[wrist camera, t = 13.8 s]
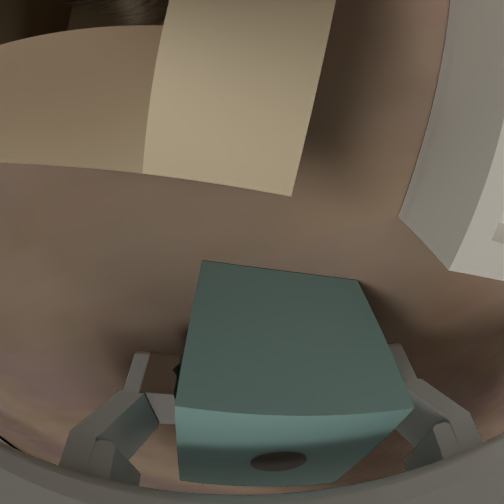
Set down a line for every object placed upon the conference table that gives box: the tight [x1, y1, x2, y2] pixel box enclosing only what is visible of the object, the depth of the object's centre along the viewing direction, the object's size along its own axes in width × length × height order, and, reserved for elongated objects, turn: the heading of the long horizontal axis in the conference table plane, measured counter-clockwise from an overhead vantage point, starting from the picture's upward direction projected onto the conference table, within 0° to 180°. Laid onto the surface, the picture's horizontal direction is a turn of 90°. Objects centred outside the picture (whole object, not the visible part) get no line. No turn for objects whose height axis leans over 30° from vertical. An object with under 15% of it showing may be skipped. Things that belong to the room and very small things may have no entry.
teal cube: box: [175, 260, 414, 486], centre depth 9 cm, size 5×5×5 cm
